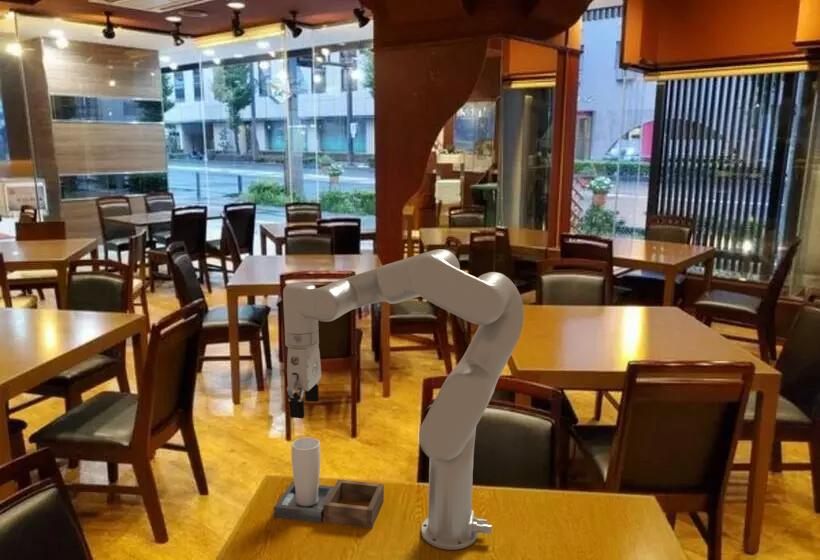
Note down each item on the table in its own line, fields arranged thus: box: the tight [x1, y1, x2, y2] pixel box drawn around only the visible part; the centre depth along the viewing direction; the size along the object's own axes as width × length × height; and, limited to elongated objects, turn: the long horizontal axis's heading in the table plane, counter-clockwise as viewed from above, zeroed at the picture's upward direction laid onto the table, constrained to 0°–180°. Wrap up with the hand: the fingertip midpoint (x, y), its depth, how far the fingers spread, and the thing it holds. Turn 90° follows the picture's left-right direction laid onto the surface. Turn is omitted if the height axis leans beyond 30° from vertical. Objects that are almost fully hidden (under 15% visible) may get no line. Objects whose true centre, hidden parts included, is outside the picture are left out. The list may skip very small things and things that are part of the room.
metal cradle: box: [273, 481, 335, 524], centre depth 147 cm, size 11×12×2 cm
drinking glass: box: [290, 436, 321, 506], centre depth 146 cm, size 7×7×15 cm
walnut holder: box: [323, 479, 385, 529], centre depth 145 cm, size 11×11×4 cm
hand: (305, 408), depth 142 cm, fingers open, 9 cm apart
